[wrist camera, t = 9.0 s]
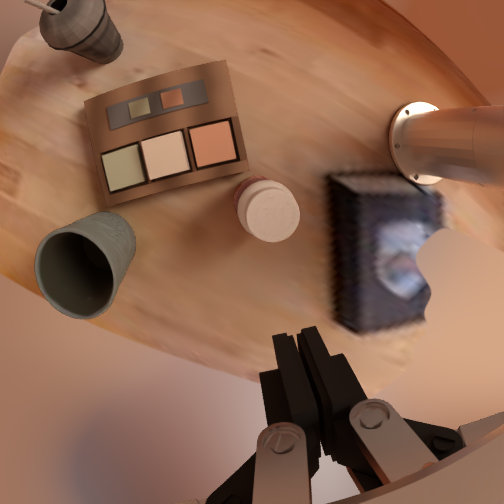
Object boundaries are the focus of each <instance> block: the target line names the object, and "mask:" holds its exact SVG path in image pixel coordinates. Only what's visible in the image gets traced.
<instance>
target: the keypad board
mask: <svg viewBox="0 0 504 504" xmlns="http://www.w3.org/2000/svg"><path fill="white" fill-rule="evenodd" d="M84 106H85V112H86V118H87V123H88V129H89V134H90V139H91V144H92V149H93V153H94V158H95V162H96V167H97V171H98V175H99V179H100V183H101V187H102V191H103V195H104V199H105V202H106V206H107V207H109V206H113V205H116V204H119V203H123V202H126V201H129V200H133V199H136V198H140V197H143V196H147V195H150V194H154V193H158V192H162V191H165V190H169V189H173V188H177V187H181V186H185V185H189V184H193V183H197V182H201V181H205V180H209V179H213V178H218V177H222V176H227V175H231V174H236V173H240V172H245V171H250V170H249V165H248V160H247V155H246V151H245V146H244V141H243V136H242V132H241V127H240V122H239V118H238V113H237V108H236V104H235V99H234V95H233V90H232V86H231V81H230V77H229V72H228V68H227V63H226V60H221V61H216V62H211V63H206V64H202V65H197V66H193V67H189V68H184V69H180V70H176V71H173V72H169V73H165V74H162V75H158V76H155V77H151V78H148V79H145V80H141V81H138V82H135V83H132V84H129V85H126V86H123V87H120V88H117V89H115V90H112V91H109V92H106V93H104V94H101V95H99V96H96V97H93V98H91V99H88V100H86V101H84ZM225 121H228V122H229V126H230V131H231V136H232V140H233V145H234V150H235V154H236V159H231V160H226V161H222V162H217V163H213V164H209V165H205V166H200V167H198V165H197V161H196V157H195V152H194V148H193V143H192V139H191V134H190V130H191V129H195V128H199V127H203V126H207V125H212V124H216V123H221V122H225ZM178 131H180V132H182V136H183V140H184V145H185V149H186V154H187V158H188V163H189V167H190V169H189V170H185V171H182V172H178V173H174V174H170V175H166V176H163V177H159V178H155V179H152V180H150V178H149V174H148V170H147V166H146V161H145V157H144V153H143V148H142V144H141V142H142V141H146V140H149V139H152V138H156V137H159V136H163V135H167V134H170V133H174V132H178ZM133 145H140V149H141V153H142V158H143V162H144V166H145V170H146V175H147V179H148V180H146V181H144V182H140V183H137V184H133V185H130V186H127V187H123V188H120V189H117V190H114V191H111V192H110V188H109V184H108V180H107V176H106V171H105V167H104V163H103V158H102V156H103V155H106V154H109V153H112V152H115V151H118V150H121V149H124V148H127V147H130V146H133Z"/></svg>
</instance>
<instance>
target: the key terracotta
mask: <svg viewBox="0 0 504 504" xmlns="http://www.w3.org/2000/svg"><path fill="white" fill-rule="evenodd" d="M190 134H191V139H192V143H193V148H194V152H195V157H196V161H197V165H198V167H200V166H205V165H209V164H213V163H217V162H222V161H226V160H231V159H236V154H235V150H234V145H233V140H232V136H231V131H230V126H229V122H228V121H225V122H221V123H216V124H212V125H207V126H203V127H199V128H195V129H191V130H190Z"/></svg>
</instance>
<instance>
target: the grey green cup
mask: <svg viewBox="0 0 504 504" xmlns="http://www.w3.org/2000/svg"><path fill="white" fill-rule="evenodd" d="M135 239H136V238H135V235H134V232H133V230H132V228H131V227H130V225H129V224H128V223H127V221H126V220H124V218H122V217H121V216H119V215H118V214H115V213H112V212H107V211H106V212H98V213H95V214H92V215H90V216H88V217H85V218H82V219H80V220H77V221H75V222H73V223H72V224H69V225H68V226H64V227H62V228H60V229H57V230H55V231H53V232H51V233H49V234H48V235H47V236H46V237H45V238H44V239H43V240H42V242H41V243H40V245H39V246H38V249H37V252H36V256H35V264H34V269H35V276H36V280H37V283H38V286H39V288H40V290H41V292H42V294H43V295H44V297H45V298H46V300H47V301H48V302H49V303H50V304H51V305H52V306H53V307H54V308H55V309H57V310H58V311H59V312H61V313H63V314H65V315H67V316H69V317H72V318H76V319H91V318H95V317H97V316H99V315H101V314H103V313H104V312H105V311H106V310H107V309H108V308H109V307H110V306H111V304H112V302H113V300H114V297H115V295H116V293H117V290H118V288H119V286H120V283H121V281H122V280H123V278H124V276H125V273H126V271H127V269H128V267H129V265H130V263H131V261H132V259H133V257H134V254H135V250H136V240H135Z"/></svg>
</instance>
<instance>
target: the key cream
mask: <svg viewBox="0 0 504 504" xmlns="http://www.w3.org/2000/svg"><path fill="white" fill-rule="evenodd" d="M141 144H142V148H143V153H144V157H145V161H146V166H147V170H148V174H149V178H150V180H152V179H155V178H159V177H163V176H166V175H170V174H174V173H178V172H182V171H185V170H189V169H190V167H189V163H188V158H187V154H186V149H185V145H184V140H183V136H182V132H180V131H178V132H174V133H170V134H167V135H163V136H159V137H156V138H152V139H149V140H146V141H142V142H141Z"/></svg>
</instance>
